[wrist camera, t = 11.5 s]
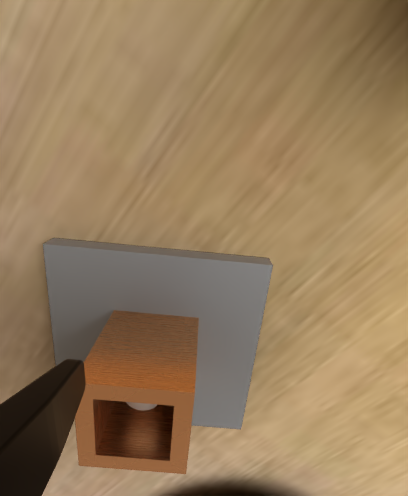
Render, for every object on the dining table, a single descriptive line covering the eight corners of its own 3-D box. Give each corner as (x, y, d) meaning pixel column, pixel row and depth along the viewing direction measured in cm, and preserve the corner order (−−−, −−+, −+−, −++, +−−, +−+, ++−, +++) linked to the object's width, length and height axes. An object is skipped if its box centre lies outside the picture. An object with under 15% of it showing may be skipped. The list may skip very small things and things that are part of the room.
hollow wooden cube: (198, 317, 18) (194, 392, 13) (191, 383, 20) (185, 473, 15) (114, 310, 18) (71, 382, 13) (115, 376, 20) (78, 465, 15)
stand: (268, 258, 18) (291, 298, 13) (239, 415, 23) (247, 488, 18) (53, 237, 18) (-5, 271, 13) (68, 401, 23) (29, 471, 18)
